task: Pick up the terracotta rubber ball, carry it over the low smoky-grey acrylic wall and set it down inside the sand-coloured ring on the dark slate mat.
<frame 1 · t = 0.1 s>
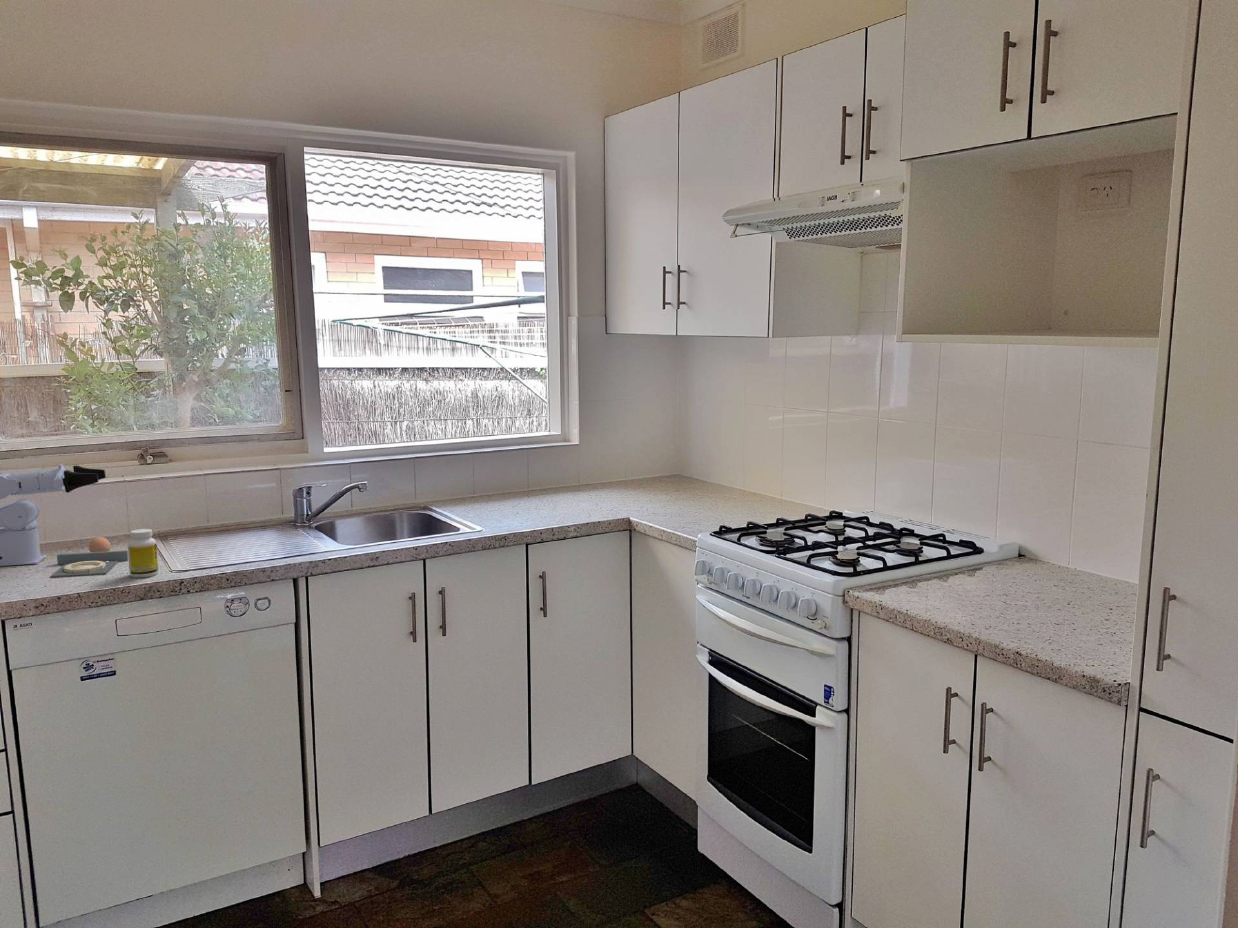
hand: (101, 475, 238), 22 cm above the worktop, tool horizontal, fingers open, 7 cm apart
ball: (100, 555, 242), on the worktop
pill bottle: (144, 575, 223), on the worktop
acrylic wall: (93, 562, 235), on the worktop
slate mat: (85, 569, 228), on the worktop
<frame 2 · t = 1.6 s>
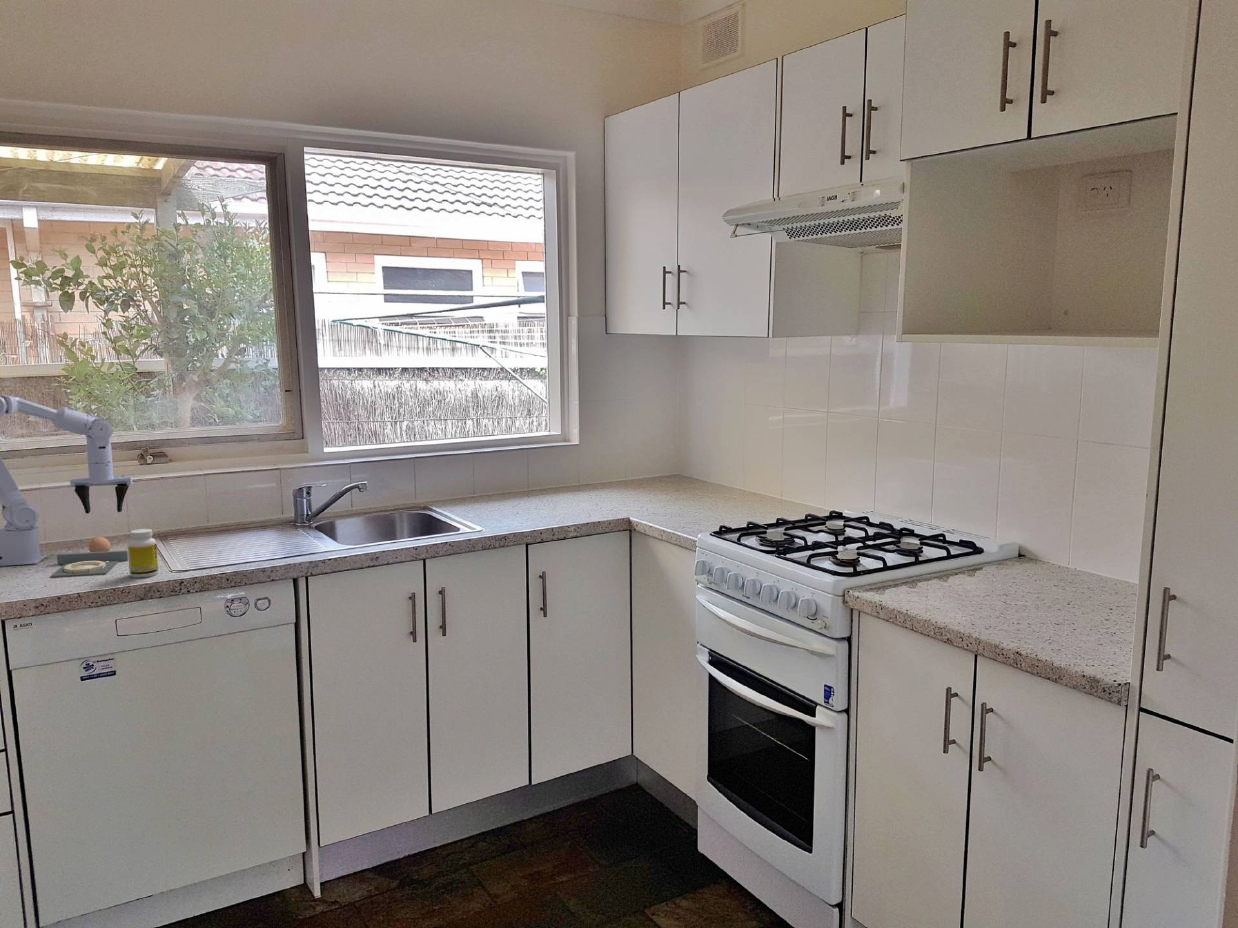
hand: (103, 512, 247), 10 cm above the worktop, tool pointing down, fingers open, 7 cm apart
nothing on the worktop moved.
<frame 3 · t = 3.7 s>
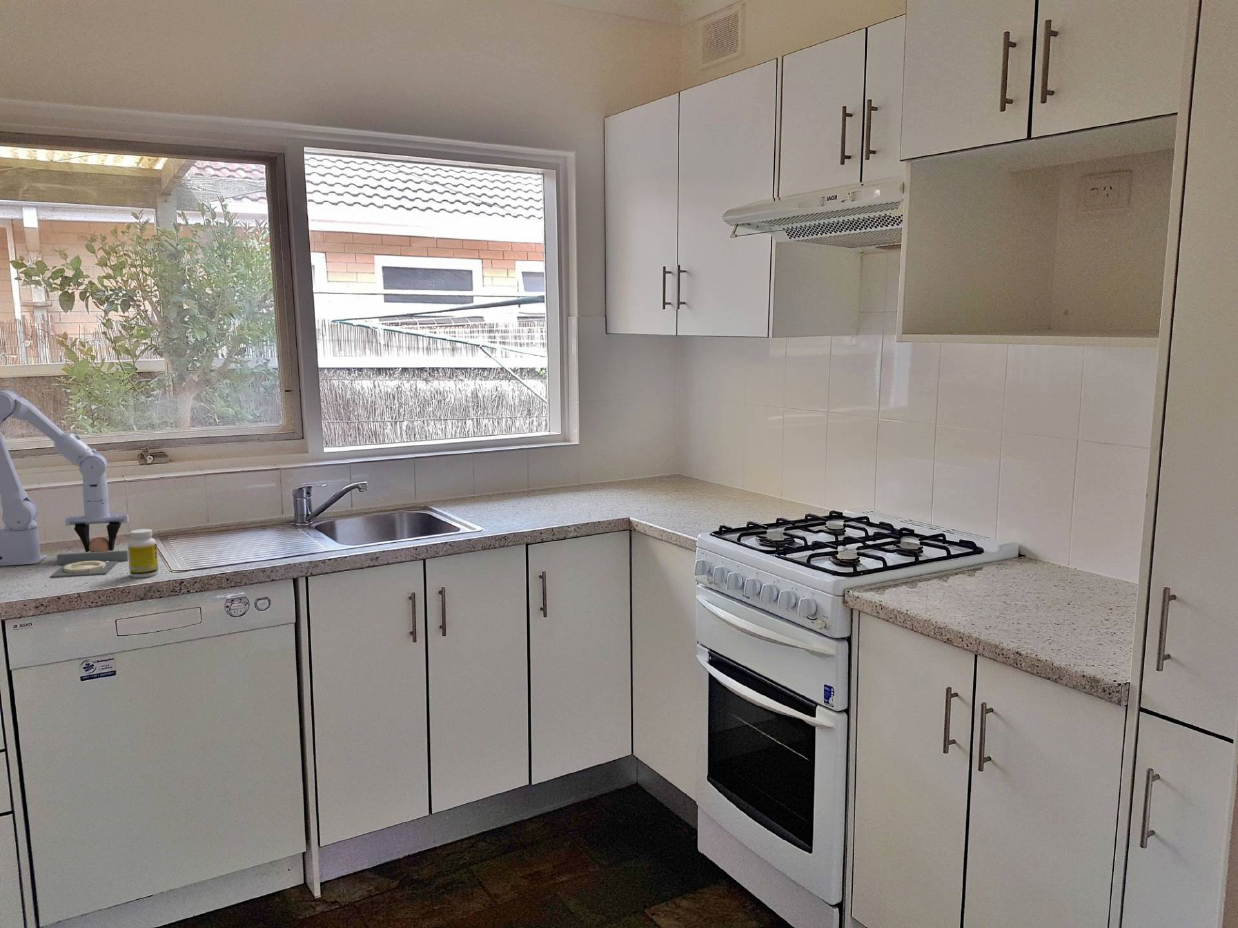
hand: (99, 550, 242), 1 cm above the worktop, tool pointing down, fingers closed on ball, 5 cm apart
ball: (100, 555, 242), on the worktop, touching gripper
everything else where it was.
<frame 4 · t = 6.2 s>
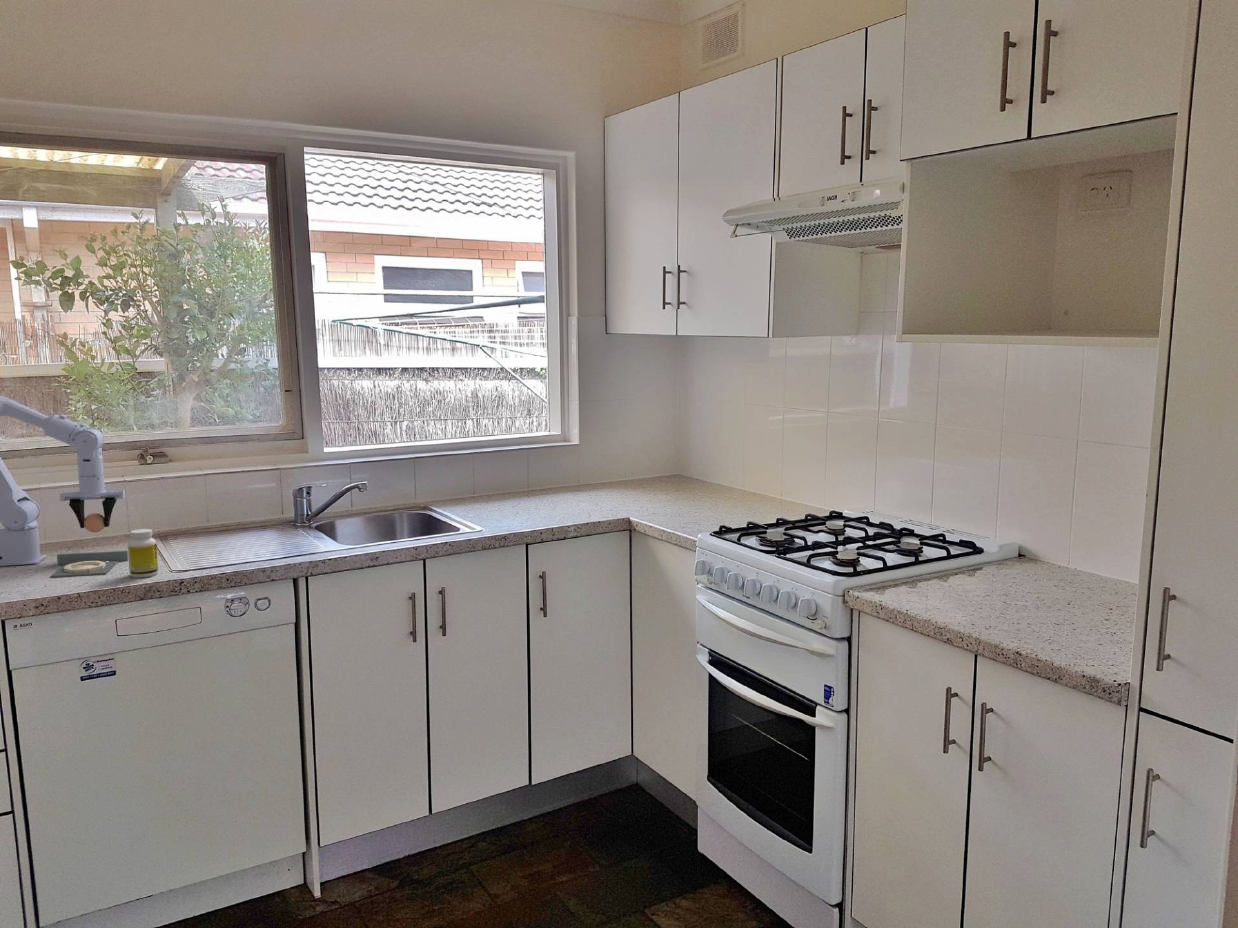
hand: (95, 526, 238), 8 cm above the worktop, tool pointing down, fingers closed on ball, 5 cm apart
ball: (95, 532, 238), point 7 cm above the worktop, touching gripper
everything else where it was.
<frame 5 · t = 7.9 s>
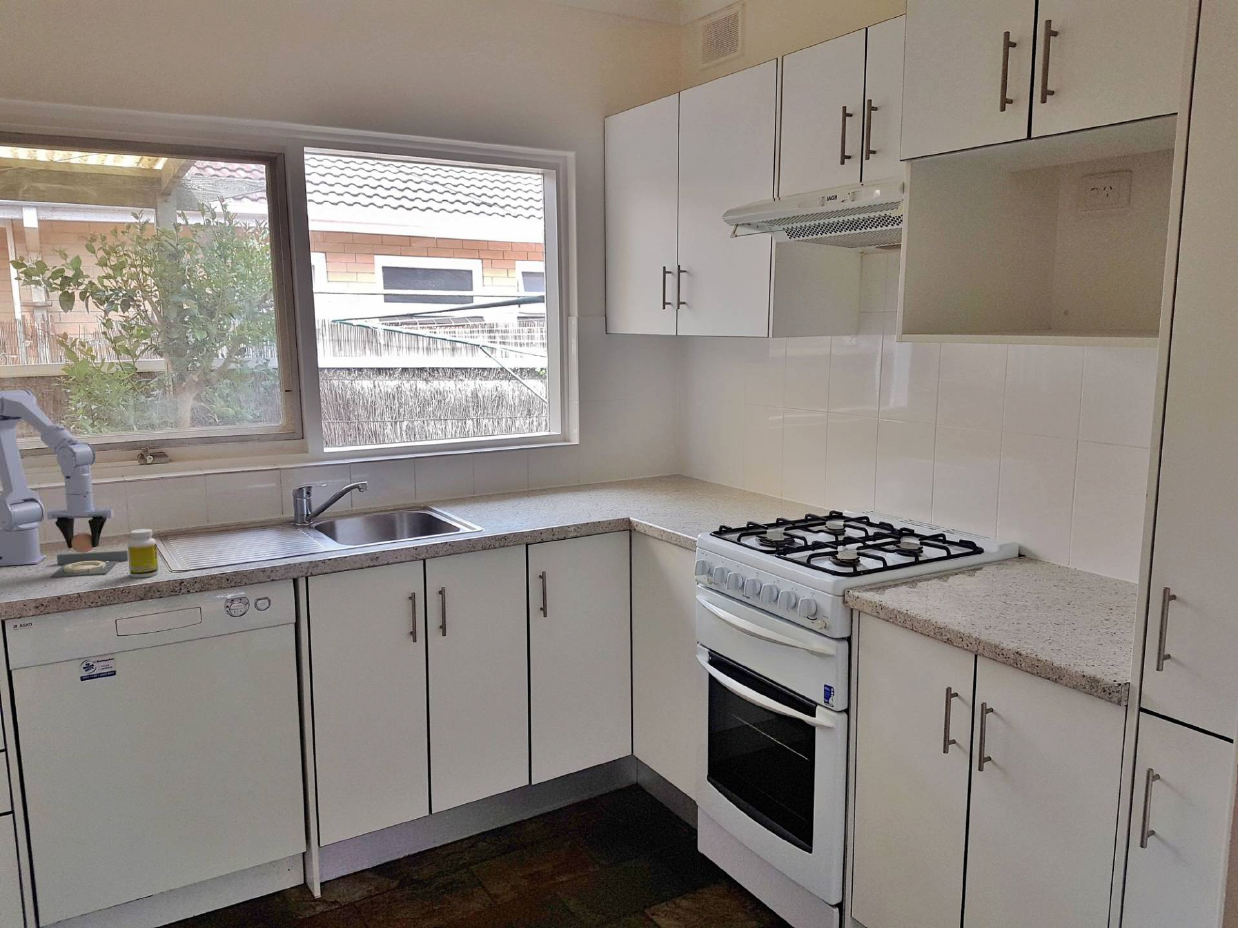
hand: (83, 546, 227), 6 cm above the worktop, tool pointing down, fingers closed on ball, 5 cm apart
ball: (83, 552, 227), point 4 cm above the worktop, touching gripper
everything else where it was.
when the fingers open (3 cm above the worktop, at t = 8.9 s): ball drops 1 cm, resting on slate mat.
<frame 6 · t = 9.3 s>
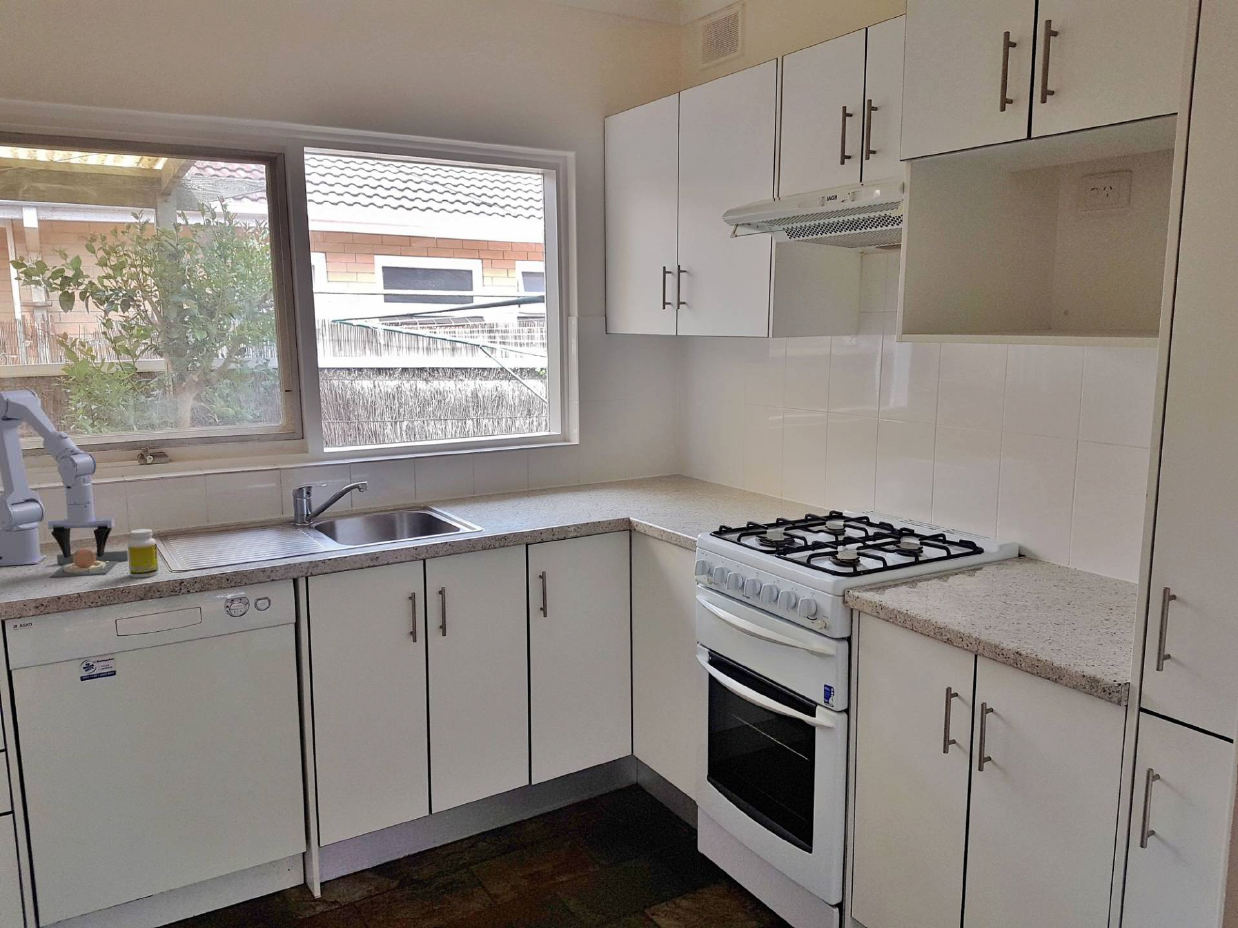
hand: (84, 556, 227), 3 cm above the worktop, tool pointing down, fingers open, 7 cm apart
ball: (85, 567, 228), resting on slate mat
everything else where it was.
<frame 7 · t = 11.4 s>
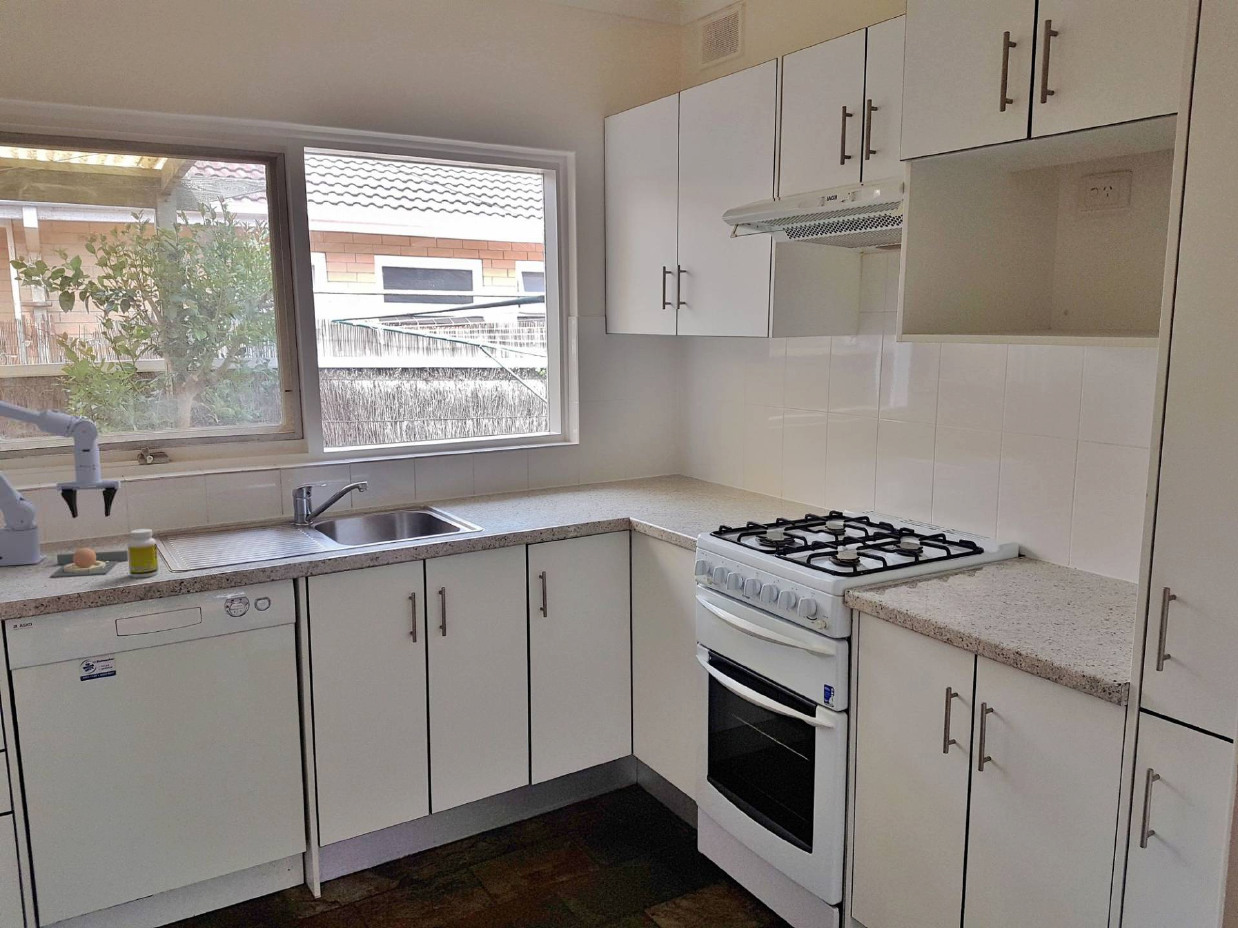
hand: (91, 516, 241), 10 cm above the worktop, tool pointing down, fingers open, 7 cm apart
nothing on the worktop moved.
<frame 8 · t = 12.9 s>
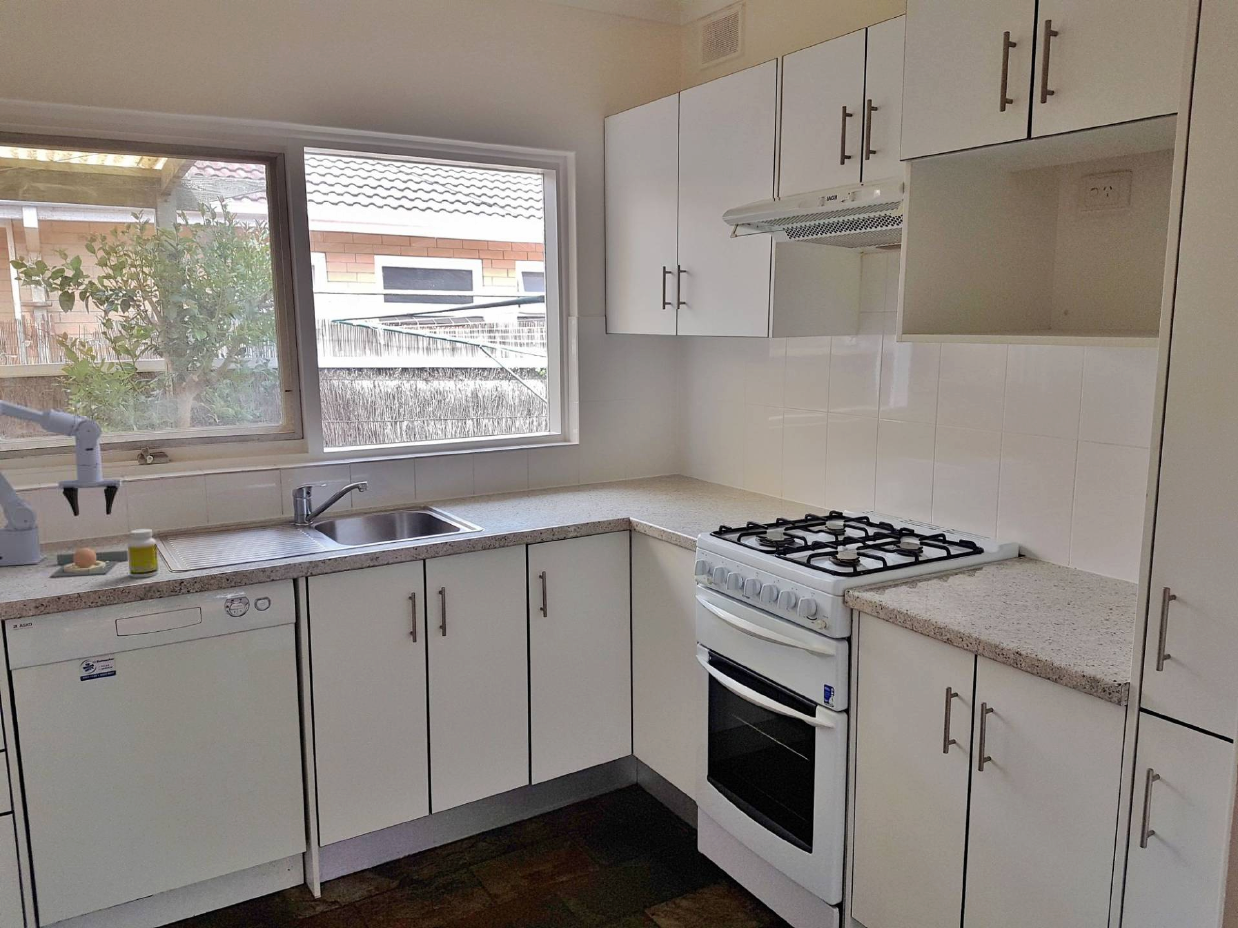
hand: (92, 514, 244), 10 cm above the worktop, tool pointing down, fingers open, 7 cm apart
nothing on the worktop moved.
at the end: ball 0.0 cm off-centre on the slate mat, point 0.5 cm above the slate mat's base; the gripper is holding nothing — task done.
